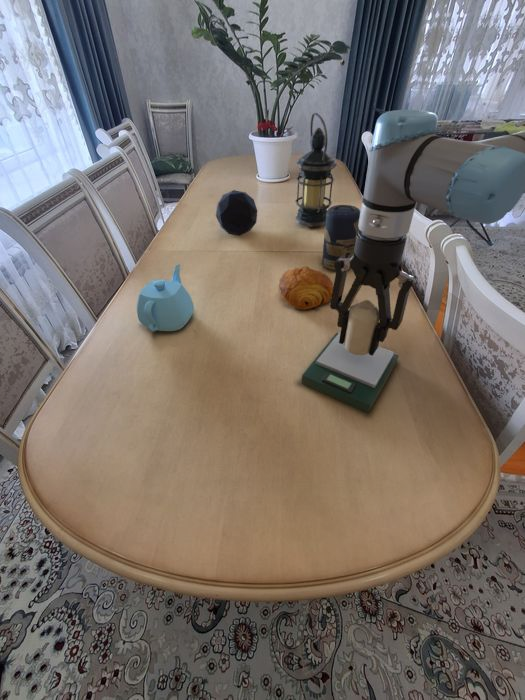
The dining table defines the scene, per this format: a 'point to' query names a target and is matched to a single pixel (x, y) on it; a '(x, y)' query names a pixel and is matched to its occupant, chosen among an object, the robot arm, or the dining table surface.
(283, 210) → the dining table surface
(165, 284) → the teapot
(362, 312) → the candle
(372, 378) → the scale
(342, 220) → the canister
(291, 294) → the croissant
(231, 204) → the decorative orb
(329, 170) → the lantern
